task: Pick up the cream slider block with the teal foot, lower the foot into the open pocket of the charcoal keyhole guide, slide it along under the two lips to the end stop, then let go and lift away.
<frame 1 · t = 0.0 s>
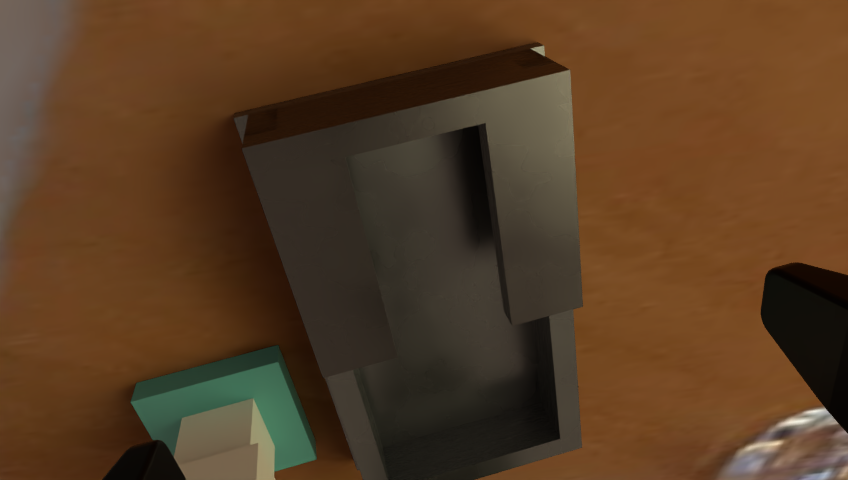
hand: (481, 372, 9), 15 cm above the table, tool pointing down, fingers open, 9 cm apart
slider: (232, 412, 27), on the table
keyhole guide: (432, 284, 26), on the table
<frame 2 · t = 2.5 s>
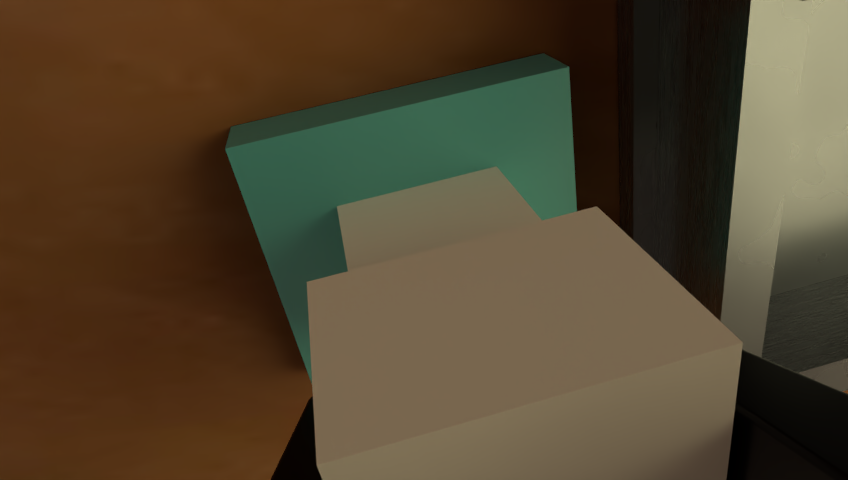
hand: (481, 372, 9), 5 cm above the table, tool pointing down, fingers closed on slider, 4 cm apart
slider: (419, 227, 13), on the table, touching gripper
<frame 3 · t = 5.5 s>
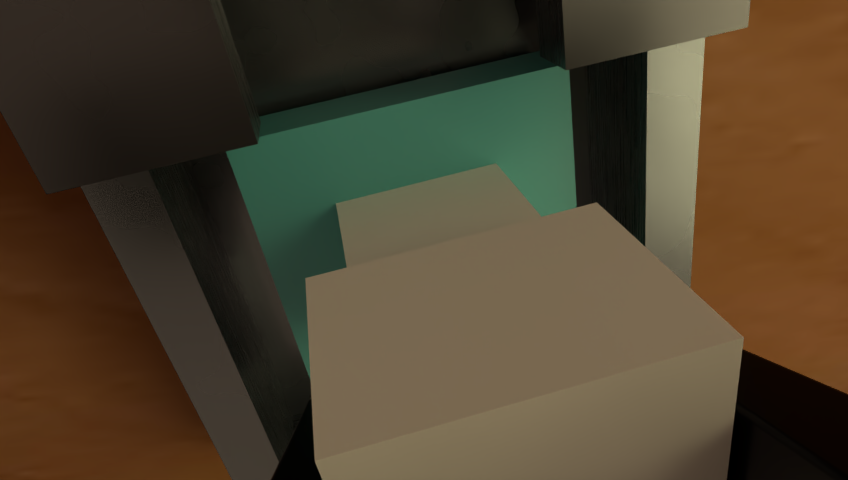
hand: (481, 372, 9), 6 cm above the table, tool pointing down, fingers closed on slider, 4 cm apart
slider: (419, 225, 13), point 1 cm above the table, touching gripper
keyhole guide: (377, 50, 12), on the table
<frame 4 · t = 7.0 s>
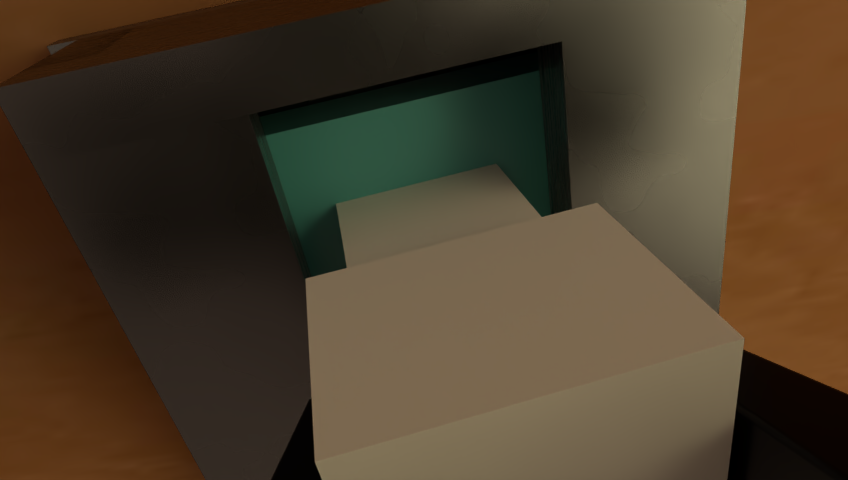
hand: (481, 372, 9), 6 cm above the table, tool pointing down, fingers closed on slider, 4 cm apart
slider: (419, 225, 13), point 1 cm above the table, touching gripper
keyhole guide: (439, 344, 16), on the table
when the fingers open (6 cm above the table, at t = 8.3 s): slider stays where it is, resting on keyhole guide.
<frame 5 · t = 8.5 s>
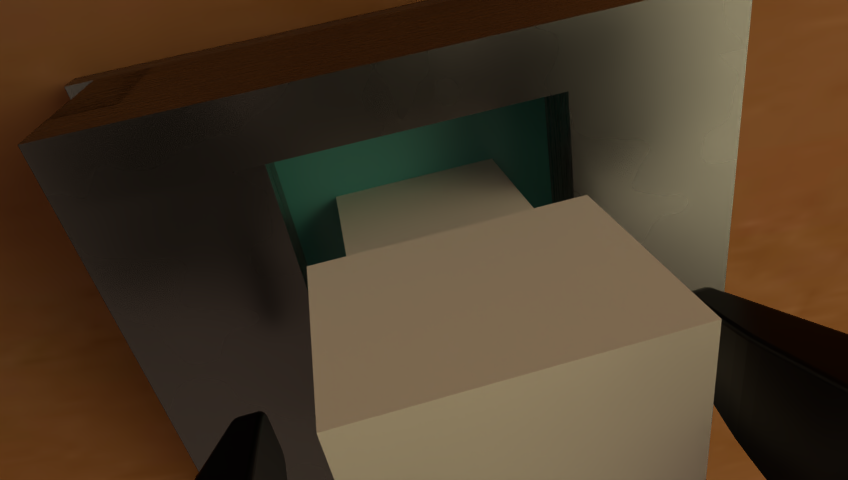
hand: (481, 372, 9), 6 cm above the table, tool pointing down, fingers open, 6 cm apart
slider: (416, 219, 13), point 1 cm above the table, touching keyhole guide
keyhole guide: (444, 365, 16), on the table
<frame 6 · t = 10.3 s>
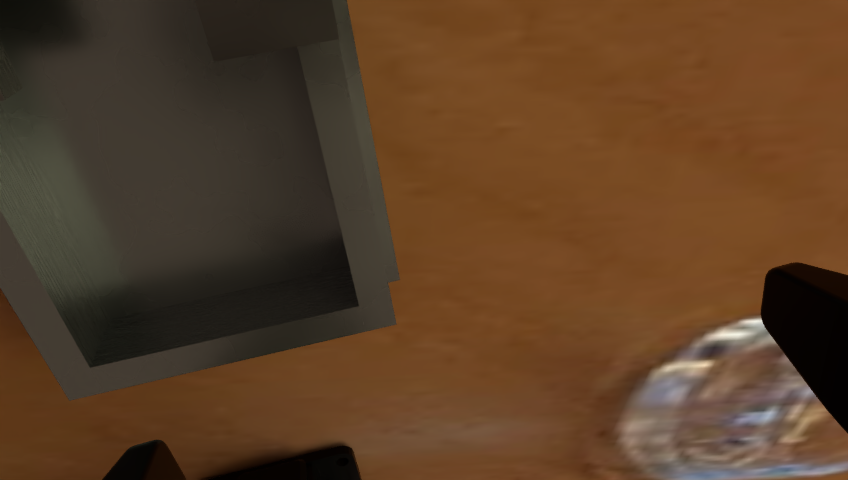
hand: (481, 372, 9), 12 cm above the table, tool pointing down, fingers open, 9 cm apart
keyhole guide: (148, 43, 16), on the table
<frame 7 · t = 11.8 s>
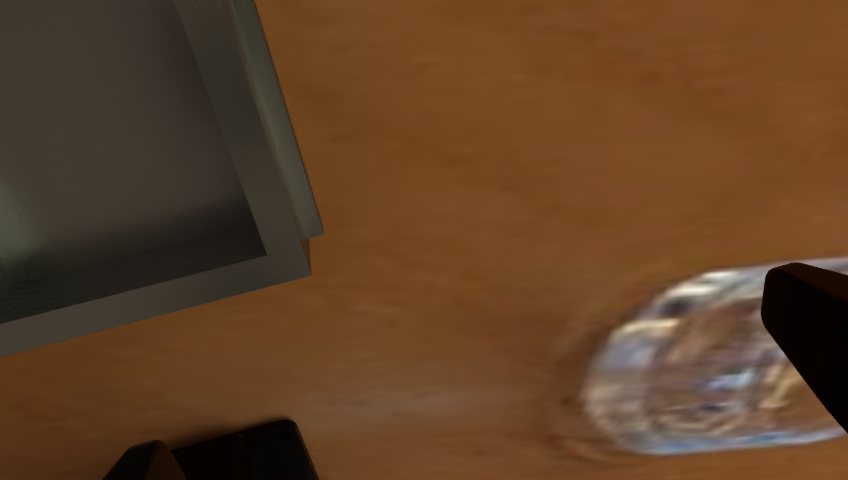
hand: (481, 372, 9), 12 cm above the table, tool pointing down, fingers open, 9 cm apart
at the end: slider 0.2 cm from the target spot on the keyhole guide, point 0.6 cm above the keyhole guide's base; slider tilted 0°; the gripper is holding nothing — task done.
